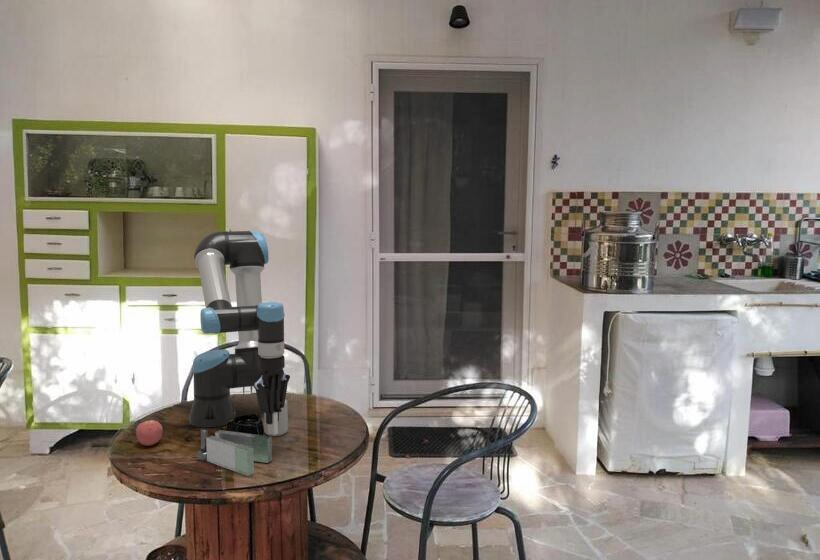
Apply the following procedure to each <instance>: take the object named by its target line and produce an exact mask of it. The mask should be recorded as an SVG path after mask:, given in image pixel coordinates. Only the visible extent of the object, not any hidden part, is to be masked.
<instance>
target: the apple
mask: <svg viewBox="0 0 820 560" xmlns="http://www.w3.org/2000/svg"><path fill="white" fill-rule="evenodd" d="M163 434H164V429H163V425H162V424H161V423H160V422H159V421H157V420H154V419H151V418H149V419H148V420H145V421H142V422H141V423H139V424H138V425H137V426H136V429H135V436H136V438H137V441H138V442H139V443H140V444H141V445H143V446H145V447H146V446H147V447H149V446H154V445H155V444H157V443H158V442H159V441H160V440H161V438H162V436H163Z"/></svg>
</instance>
